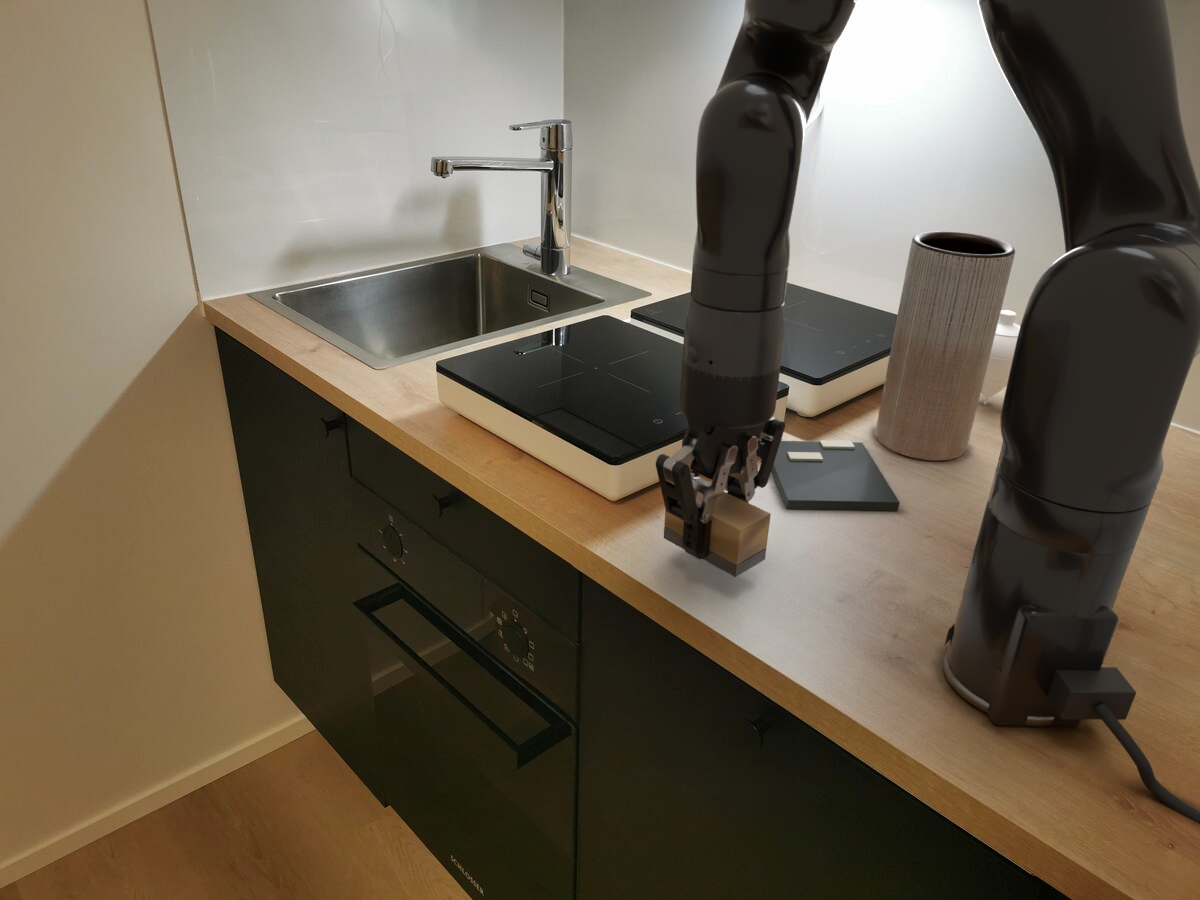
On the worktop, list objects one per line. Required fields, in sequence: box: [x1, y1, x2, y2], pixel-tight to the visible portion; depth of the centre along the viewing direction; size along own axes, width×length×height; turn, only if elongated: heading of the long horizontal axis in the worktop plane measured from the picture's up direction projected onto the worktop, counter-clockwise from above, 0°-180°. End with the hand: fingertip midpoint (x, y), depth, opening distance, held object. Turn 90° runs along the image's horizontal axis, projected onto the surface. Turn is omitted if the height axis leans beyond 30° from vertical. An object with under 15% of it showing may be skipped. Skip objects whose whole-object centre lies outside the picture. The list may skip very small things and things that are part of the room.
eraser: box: [663, 491, 772, 578], centre depth 76 cm, size 4×8×4 cm, turn 43°
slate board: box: [771, 440, 900, 512], centre depth 94 cm, size 13×11×1 cm
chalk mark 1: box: [819, 439, 855, 449], centre depth 99 cm, size 2×4×1 cm, turn 91°
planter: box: [875, 230, 1016, 462], centre depth 98 cm, size 10×10×23 cm
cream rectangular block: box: [787, 452, 823, 461], centre depth 96 cm, size 2×4×1 cm, turn 92°
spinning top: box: [981, 309, 1021, 405], centre depth 110 cm, size 8×8×12 cm
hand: (714, 543), depth 77 cm, fingers closed on eraser, 4 cm apart
